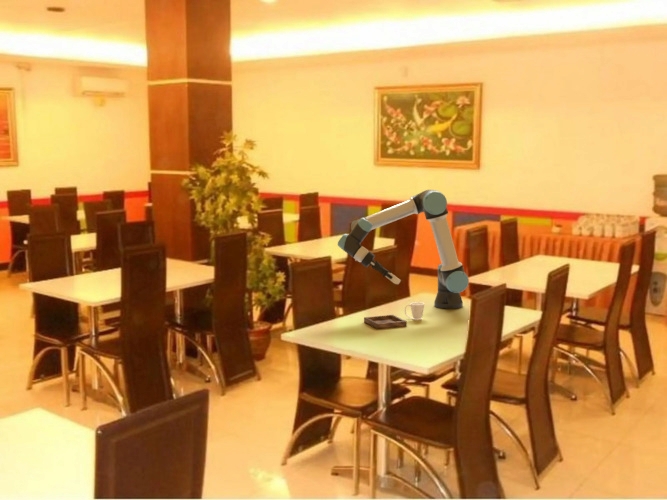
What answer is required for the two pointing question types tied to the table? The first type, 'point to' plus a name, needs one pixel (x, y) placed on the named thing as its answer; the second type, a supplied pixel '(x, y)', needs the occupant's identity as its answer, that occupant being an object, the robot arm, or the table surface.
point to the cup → (416, 310)
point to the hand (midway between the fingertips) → (398, 282)
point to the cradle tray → (385, 321)
